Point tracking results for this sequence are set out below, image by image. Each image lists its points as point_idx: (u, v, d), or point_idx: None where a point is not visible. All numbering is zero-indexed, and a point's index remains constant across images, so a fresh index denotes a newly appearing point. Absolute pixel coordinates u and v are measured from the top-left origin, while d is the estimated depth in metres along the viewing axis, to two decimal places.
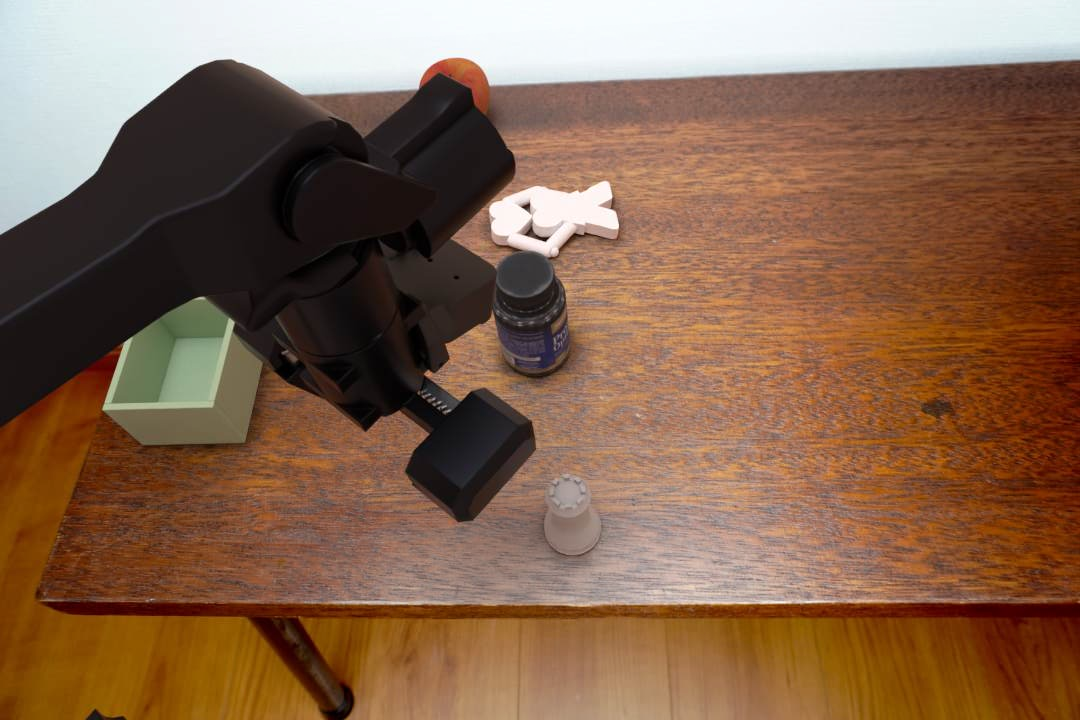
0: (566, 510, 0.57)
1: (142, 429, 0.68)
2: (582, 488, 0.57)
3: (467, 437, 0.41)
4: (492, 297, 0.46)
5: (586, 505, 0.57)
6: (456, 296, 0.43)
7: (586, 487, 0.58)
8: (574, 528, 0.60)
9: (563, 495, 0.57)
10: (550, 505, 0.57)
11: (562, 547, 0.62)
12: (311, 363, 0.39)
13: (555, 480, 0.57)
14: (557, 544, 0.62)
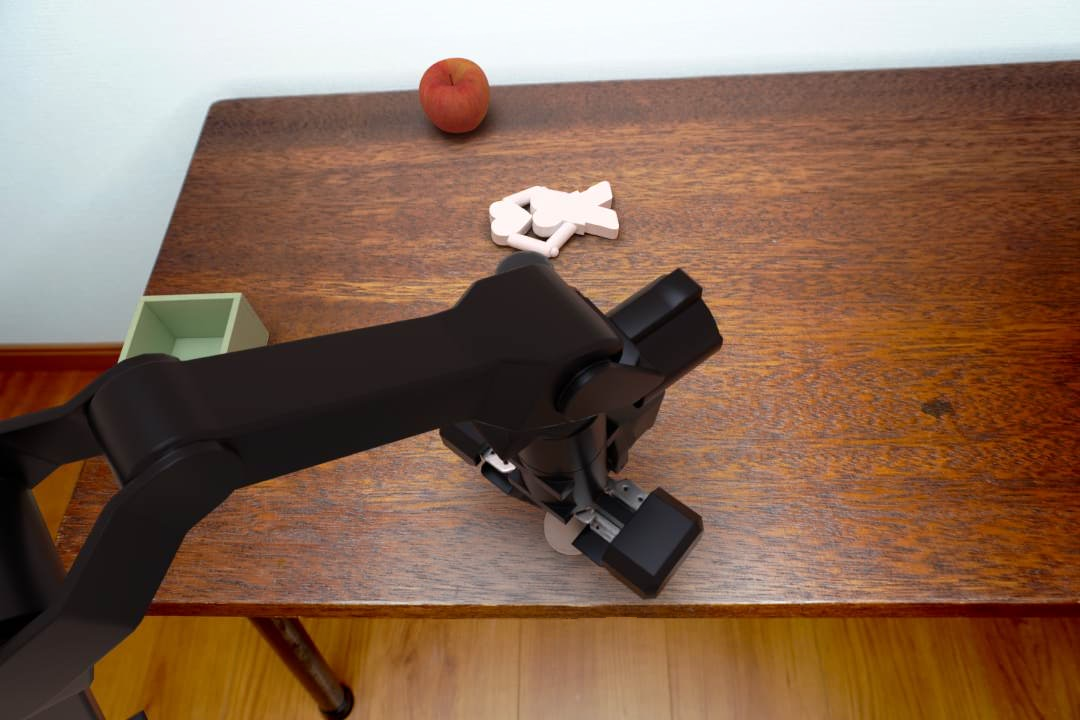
0: None
1: None
2: None
3: (653, 531, 0.51)
4: (659, 408, 0.55)
5: None
6: (638, 413, 0.53)
7: None
8: (574, 528, 0.60)
9: None
10: None
11: (562, 547, 0.62)
12: (537, 476, 0.49)
13: None
14: (557, 544, 0.62)
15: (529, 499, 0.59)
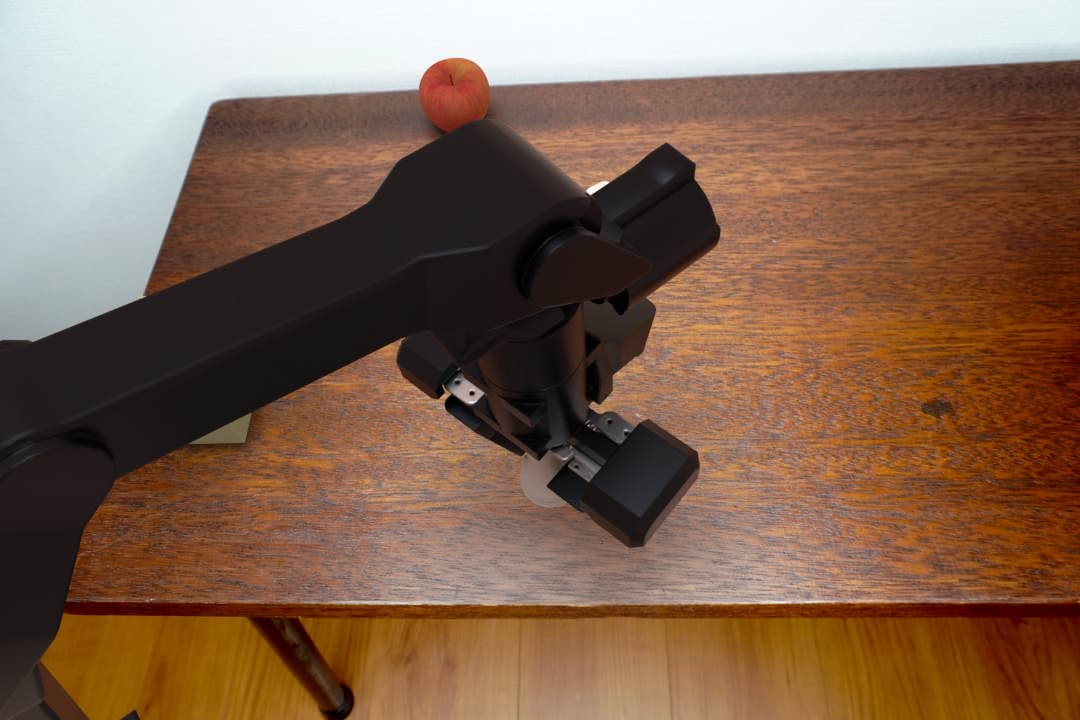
0: None
1: None
2: None
3: (641, 467, 0.44)
4: (649, 331, 0.48)
5: None
6: (624, 332, 0.45)
7: None
8: (553, 474, 0.53)
9: None
10: None
11: (539, 498, 0.54)
12: (503, 398, 0.41)
13: None
14: (534, 494, 0.54)
15: (501, 440, 0.52)
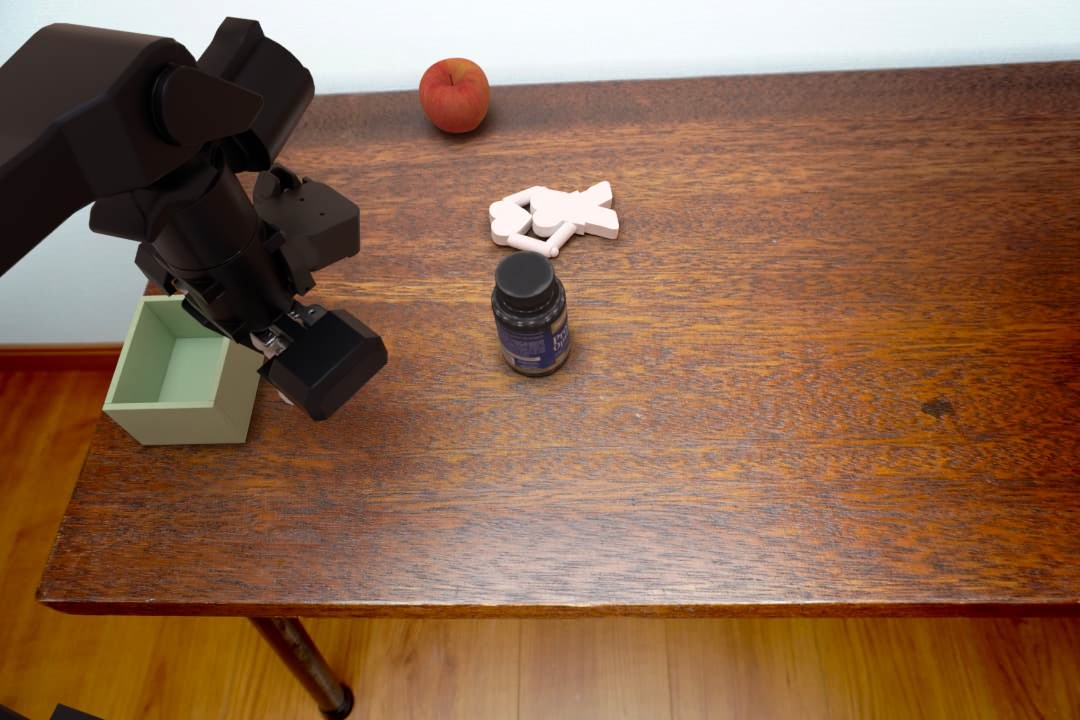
0: None
1: (142, 429, 0.68)
2: None
3: (321, 347, 0.48)
4: (357, 233, 0.53)
5: None
6: (318, 228, 0.50)
7: None
8: None
9: None
10: (253, 340, 0.55)
11: None
12: (182, 278, 0.46)
13: None
14: None
15: (241, 339, 0.57)
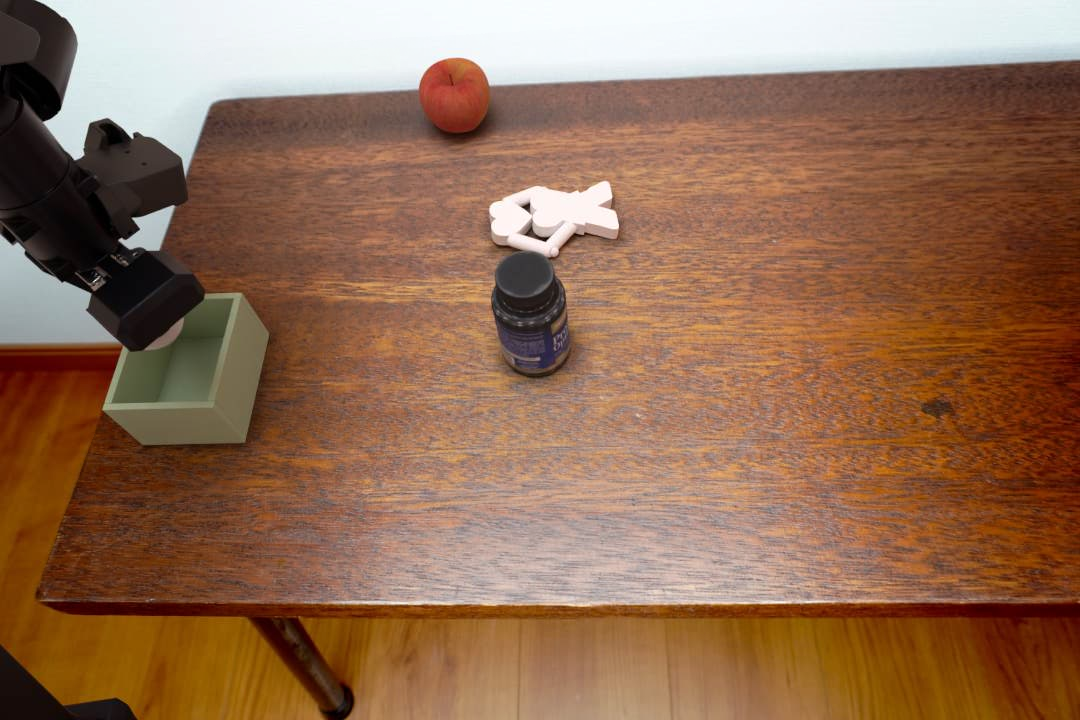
0: None
1: (142, 429, 0.68)
2: None
3: (134, 283, 0.53)
4: (181, 183, 0.57)
5: None
6: (137, 176, 0.54)
7: None
8: None
9: (103, 273, 0.59)
10: None
11: None
12: None
13: None
14: None
15: (85, 286, 0.61)
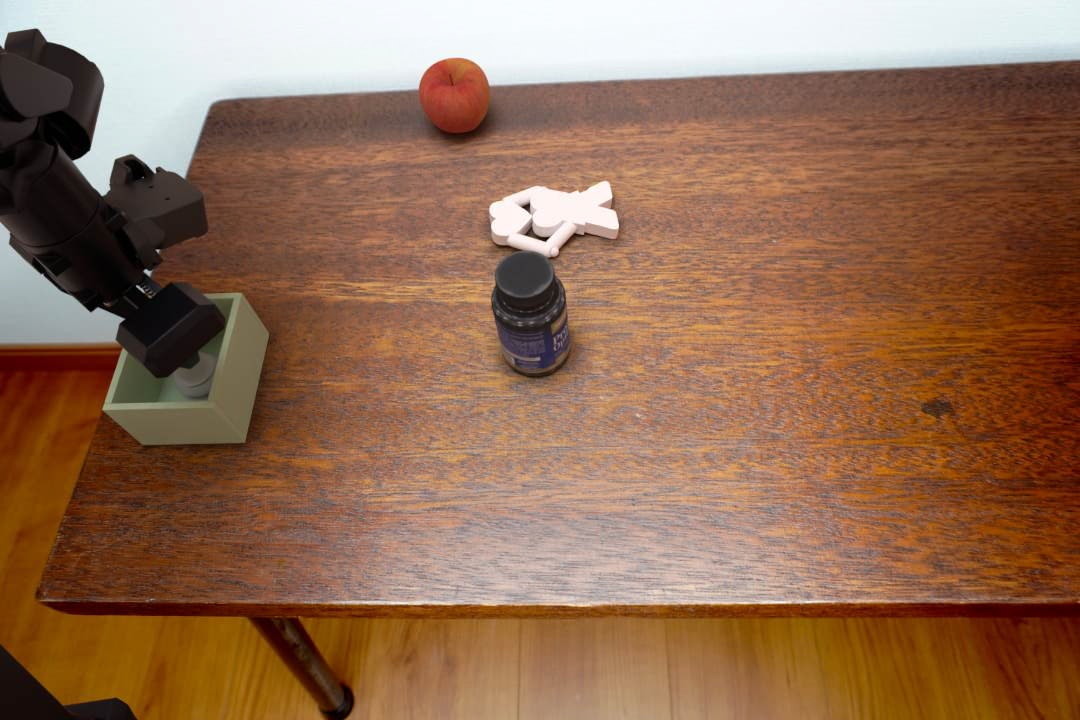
0: None
1: (142, 429, 0.68)
2: None
3: (160, 313, 0.56)
4: (202, 216, 0.60)
5: None
6: (161, 211, 0.57)
7: None
8: (188, 374, 0.69)
9: None
10: None
11: (186, 394, 0.71)
12: (32, 254, 0.53)
13: None
14: (181, 392, 0.71)
15: (100, 304, 0.64)
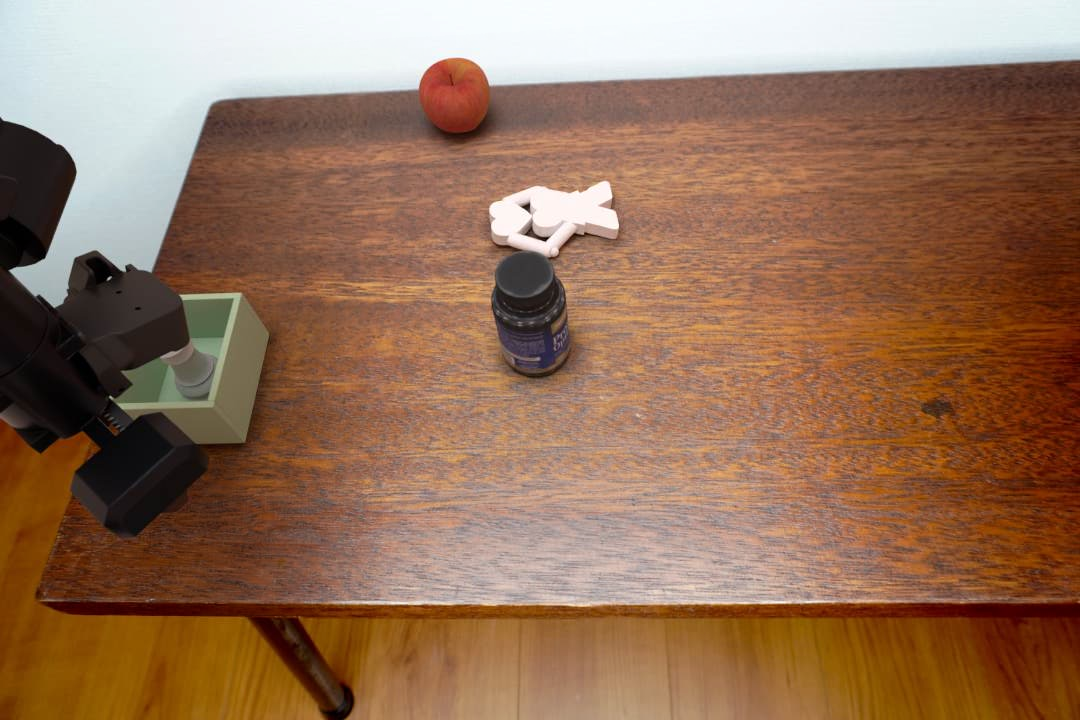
0: None
1: None
2: None
3: (126, 458, 0.44)
4: (181, 326, 0.49)
5: None
6: (129, 326, 0.46)
7: None
8: (187, 373, 0.69)
9: None
10: None
11: (186, 394, 0.71)
12: None
13: None
14: (181, 392, 0.71)
15: None
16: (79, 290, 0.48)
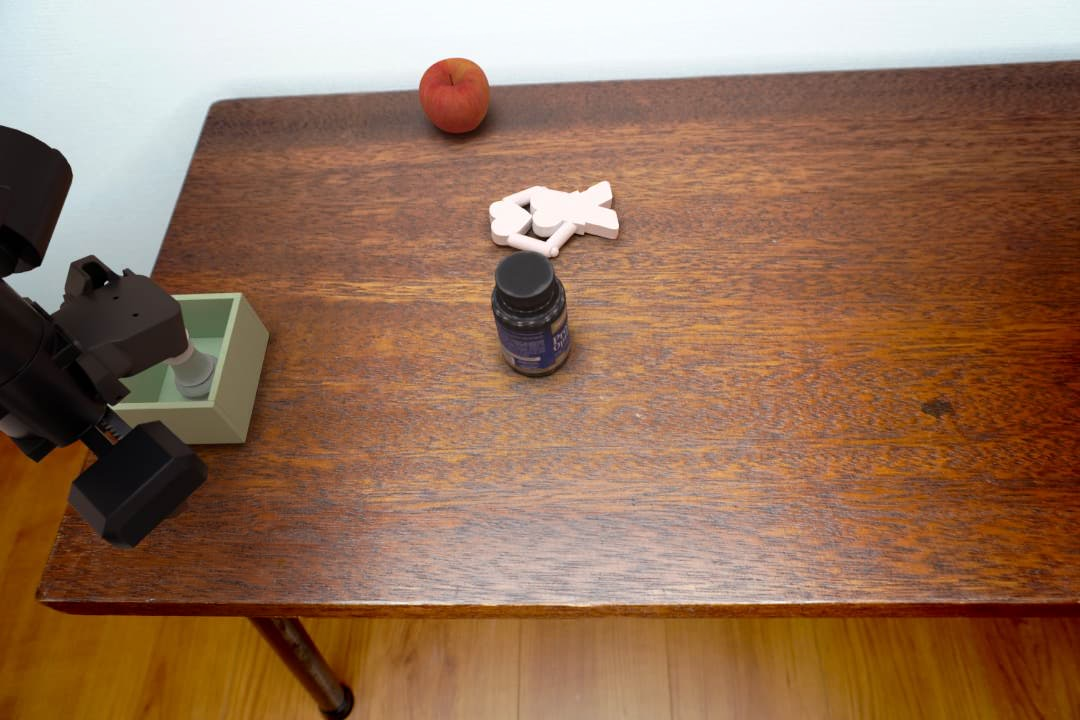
0: None
1: None
2: None
3: (124, 469, 0.44)
4: (179, 332, 0.48)
5: None
6: (127, 333, 0.45)
7: None
8: (187, 373, 0.69)
9: None
10: None
11: (186, 394, 0.71)
12: None
13: None
14: (181, 392, 0.71)
15: None
16: (76, 296, 0.47)
